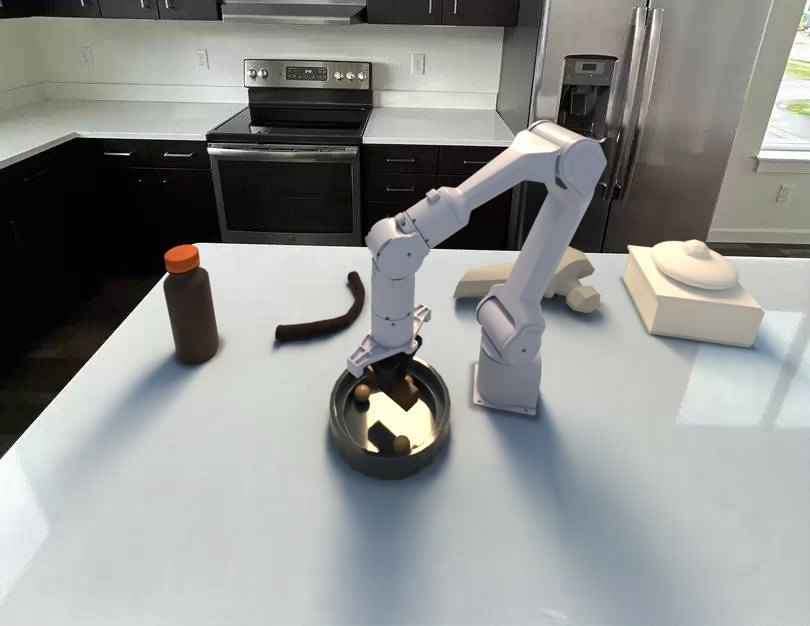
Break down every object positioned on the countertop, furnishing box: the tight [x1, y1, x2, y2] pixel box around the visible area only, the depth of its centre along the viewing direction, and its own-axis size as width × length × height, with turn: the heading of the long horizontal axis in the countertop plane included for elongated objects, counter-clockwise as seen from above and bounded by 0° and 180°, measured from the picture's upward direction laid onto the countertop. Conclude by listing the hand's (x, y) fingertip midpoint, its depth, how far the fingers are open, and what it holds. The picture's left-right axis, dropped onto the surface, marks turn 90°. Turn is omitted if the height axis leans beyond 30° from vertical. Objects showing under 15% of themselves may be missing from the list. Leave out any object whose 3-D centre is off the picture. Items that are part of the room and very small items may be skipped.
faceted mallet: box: [453, 245, 601, 314], centre depth 89 cm, size 30×14×11 cm, turn 88°
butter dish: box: [622, 239, 766, 349], centre depth 86 cm, size 18×18×16 cm
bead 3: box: [405, 375, 414, 385], centre depth 68 cm, size 2×2×2 cm
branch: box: [274, 270, 366, 342], centre depth 84 cm, size 23×10×3 cm, turn 147°
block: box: [367, 365, 419, 412], centre depth 61 cm, size 8×2×2 cm, turn 48°
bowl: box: [328, 355, 452, 481], centre depth 63 cm, size 17×17×4 cm
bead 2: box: [393, 435, 411, 453], centre depth 58 cm, size 2×2×2 cm
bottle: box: [162, 244, 220, 365], centre depth 72 cm, size 7×7×20 cm
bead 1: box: [355, 385, 370, 402], centre depth 66 cm, size 2×2×2 cm
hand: (391, 382), depth 61 cm, fingers closed on block, 2 cm apart
